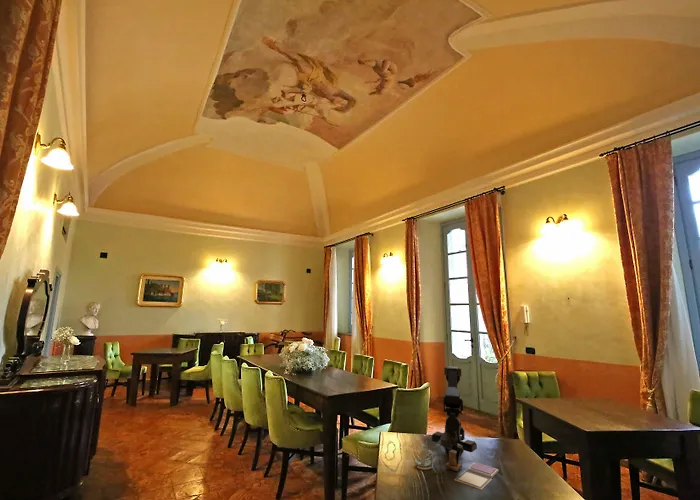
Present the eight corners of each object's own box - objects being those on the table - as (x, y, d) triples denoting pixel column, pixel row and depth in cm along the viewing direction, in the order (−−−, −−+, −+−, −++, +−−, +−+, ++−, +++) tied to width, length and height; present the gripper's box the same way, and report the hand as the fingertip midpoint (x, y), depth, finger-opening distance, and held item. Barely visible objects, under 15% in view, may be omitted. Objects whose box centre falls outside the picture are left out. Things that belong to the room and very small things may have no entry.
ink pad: (468, 470, 151) (468, 467, 152) (475, 464, 157) (475, 461, 158) (491, 478, 145) (491, 474, 145) (498, 471, 151) (498, 468, 151)
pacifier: (434, 470, 151) (429, 464, 157) (434, 455, 152) (429, 449, 158) (417, 471, 150) (413, 464, 156) (417, 455, 151) (413, 449, 157)
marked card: (454, 480, 142) (454, 478, 142) (465, 471, 151) (465, 469, 151) (481, 489, 135) (481, 488, 135) (491, 479, 144) (491, 478, 144)
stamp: (446, 467, 152) (445, 451, 153) (451, 464, 156) (450, 448, 157) (457, 471, 149) (456, 454, 150) (462, 467, 153) (461, 451, 154)
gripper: (425, 423, 155) (425, 461, 153) (466, 434, 143) (467, 476, 141) (436, 417, 164) (437, 454, 161) (476, 427, 152) (478, 467, 149)
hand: (453, 462), depth 153 cm, fingers closed on stamp, 3 cm apart
